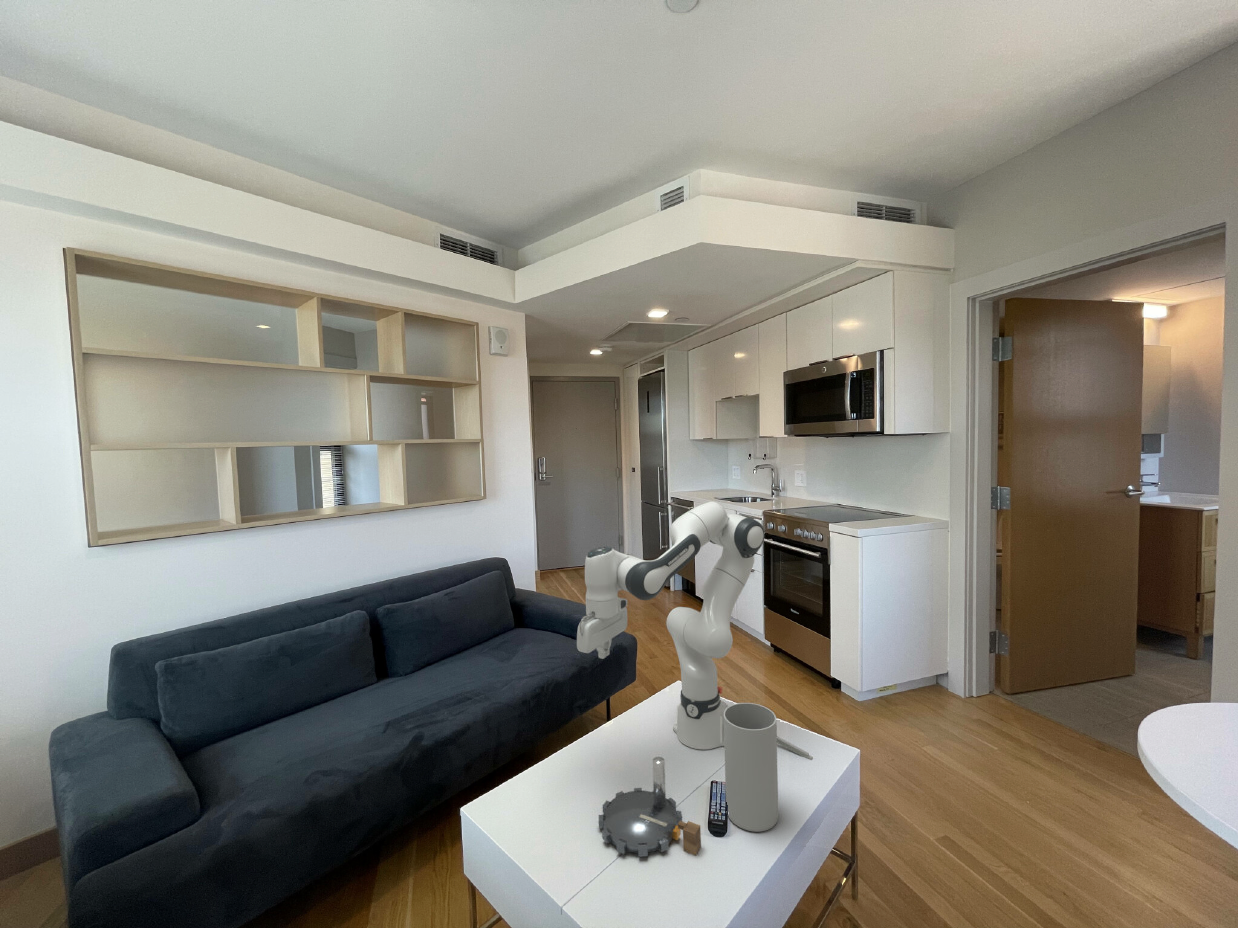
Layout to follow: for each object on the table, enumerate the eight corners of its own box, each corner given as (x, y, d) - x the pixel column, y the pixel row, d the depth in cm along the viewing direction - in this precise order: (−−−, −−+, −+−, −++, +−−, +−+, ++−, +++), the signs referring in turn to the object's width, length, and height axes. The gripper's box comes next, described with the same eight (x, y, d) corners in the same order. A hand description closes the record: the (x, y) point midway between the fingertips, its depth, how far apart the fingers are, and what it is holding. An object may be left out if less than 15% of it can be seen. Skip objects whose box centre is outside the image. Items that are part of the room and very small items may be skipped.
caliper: (745, 736, 161) (745, 717, 161) (747, 735, 162) (746, 715, 162) (812, 761, 148) (811, 739, 148) (813, 759, 149) (812, 737, 149)
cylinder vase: (787, 811, 128) (785, 713, 127) (764, 842, 119) (761, 736, 118) (741, 790, 137) (739, 697, 136) (716, 817, 127) (713, 718, 126)
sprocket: (664, 787, 137) (662, 740, 137) (695, 842, 118) (693, 788, 118) (591, 804, 132) (589, 755, 131) (611, 865, 113) (609, 808, 112)
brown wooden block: (682, 838, 121) (681, 817, 121) (700, 846, 118) (700, 825, 118) (676, 847, 118) (675, 826, 118) (695, 855, 116) (695, 834, 116)
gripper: (589, 620, 131) (591, 674, 132) (630, 598, 149) (632, 645, 149) (569, 617, 135) (572, 669, 135) (612, 595, 152) (613, 641, 153)
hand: (604, 656), depth 143 cm, fingers closed
